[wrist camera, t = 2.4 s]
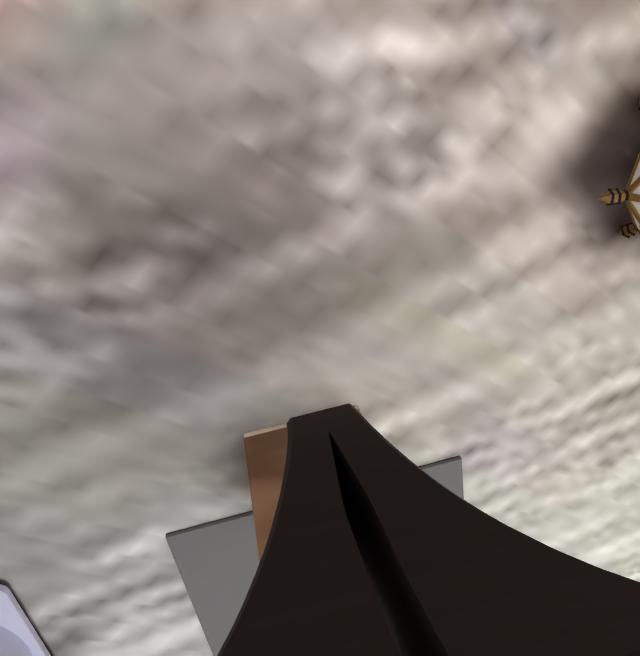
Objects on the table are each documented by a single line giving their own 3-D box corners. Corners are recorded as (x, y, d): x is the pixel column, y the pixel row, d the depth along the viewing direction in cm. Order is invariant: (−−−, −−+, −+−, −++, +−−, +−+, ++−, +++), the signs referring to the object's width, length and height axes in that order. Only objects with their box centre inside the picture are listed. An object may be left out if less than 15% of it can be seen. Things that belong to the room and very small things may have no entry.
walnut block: (261, 496, 25) (281, 638, 19) (243, 433, 24) (260, 566, 17) (366, 468, 26) (420, 597, 20) (356, 404, 24) (412, 524, 18)
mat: (223, 678, 30) (224, 681, 30) (166, 534, 25) (165, 537, 25) (467, 605, 31) (469, 608, 31) (459, 456, 26) (461, 459, 26)
